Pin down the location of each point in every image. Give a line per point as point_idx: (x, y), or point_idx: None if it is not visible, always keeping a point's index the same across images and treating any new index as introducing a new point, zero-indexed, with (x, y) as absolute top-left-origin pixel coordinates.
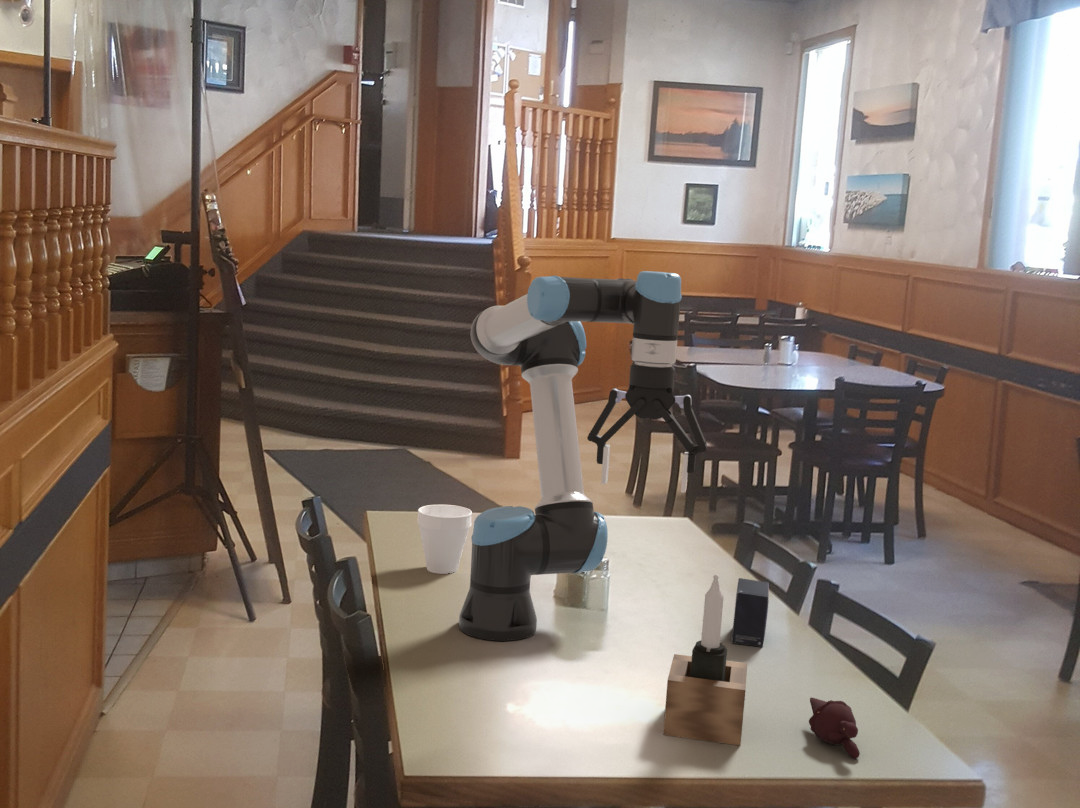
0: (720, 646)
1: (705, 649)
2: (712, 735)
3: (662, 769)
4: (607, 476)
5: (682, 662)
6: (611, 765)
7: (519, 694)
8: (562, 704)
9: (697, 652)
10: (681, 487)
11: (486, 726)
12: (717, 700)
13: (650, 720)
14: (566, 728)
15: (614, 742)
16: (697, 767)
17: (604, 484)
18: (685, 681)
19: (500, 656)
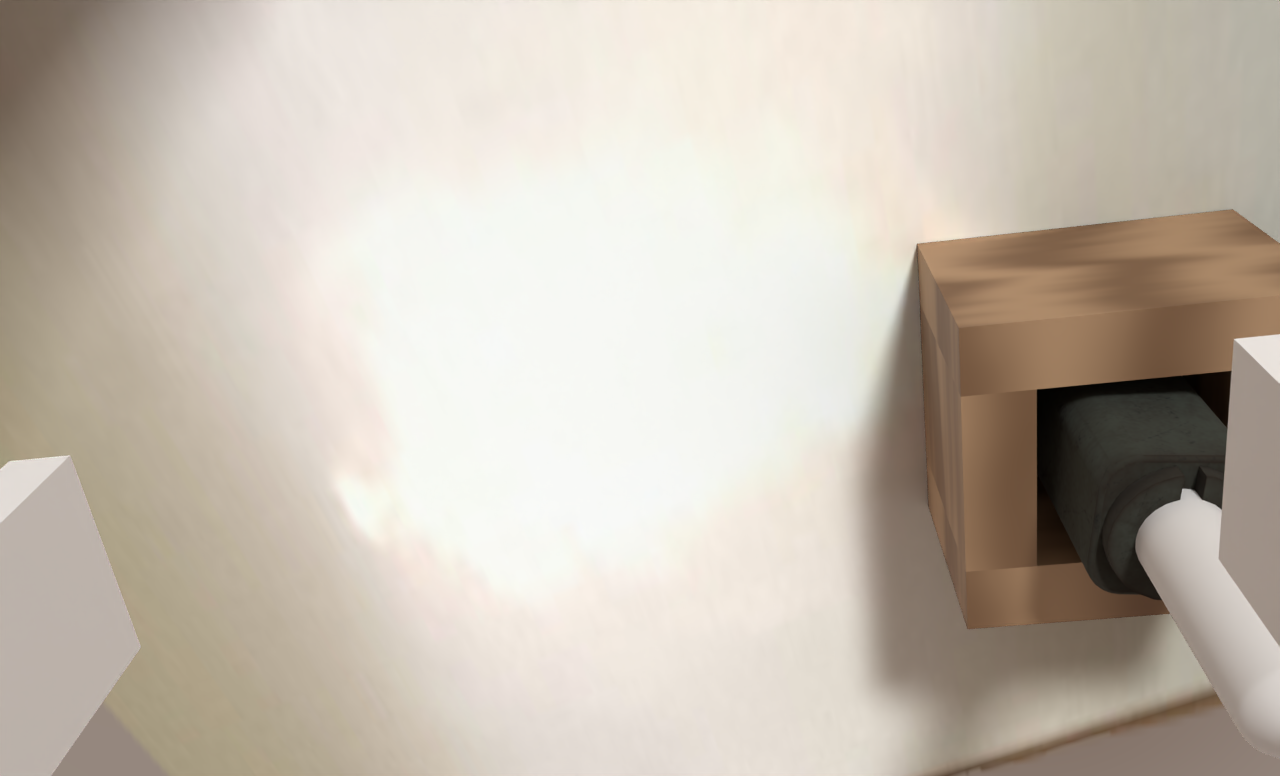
0: None
1: (1159, 599)
2: None
3: (960, 724)
4: (44, 553)
5: (1011, 418)
6: (805, 753)
7: (334, 391)
8: (514, 409)
9: (1114, 591)
10: (1255, 598)
11: (360, 664)
12: None
13: (863, 409)
14: (598, 583)
15: (778, 617)
16: (1067, 677)
17: (128, 649)
18: (1044, 614)
19: (56, 28)
